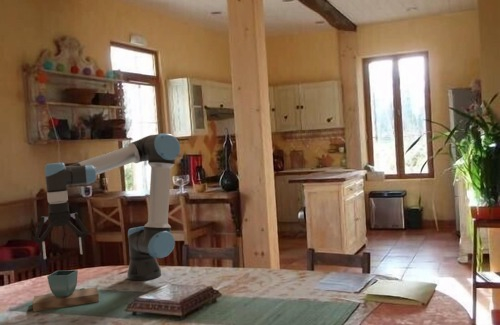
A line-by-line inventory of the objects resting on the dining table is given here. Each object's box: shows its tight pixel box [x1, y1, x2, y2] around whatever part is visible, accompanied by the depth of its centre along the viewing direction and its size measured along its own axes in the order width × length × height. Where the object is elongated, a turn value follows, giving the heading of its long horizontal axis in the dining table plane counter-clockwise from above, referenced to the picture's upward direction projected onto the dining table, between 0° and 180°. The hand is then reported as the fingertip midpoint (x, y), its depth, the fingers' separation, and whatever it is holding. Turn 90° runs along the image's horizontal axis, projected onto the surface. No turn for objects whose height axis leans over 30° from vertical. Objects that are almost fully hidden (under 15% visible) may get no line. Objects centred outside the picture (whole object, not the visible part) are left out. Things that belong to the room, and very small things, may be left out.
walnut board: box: [32, 287, 100, 312], centre depth 221 cm, size 24×12×3 cm, turn 108°
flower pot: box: [47, 269, 79, 297], centre depth 221 cm, size 9×9×9 cm
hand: (63, 256), depth 221 cm, fingers open, 13 cm apart
